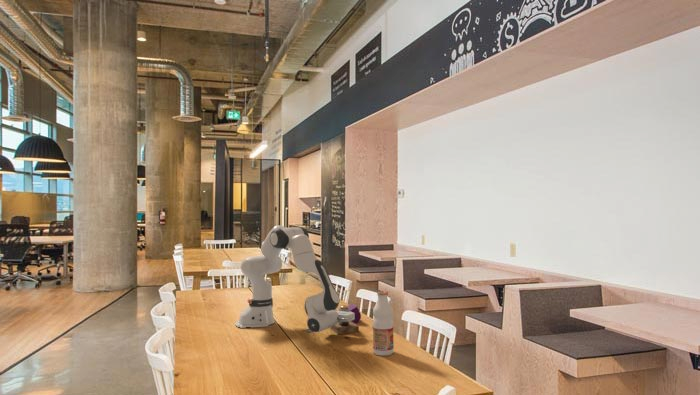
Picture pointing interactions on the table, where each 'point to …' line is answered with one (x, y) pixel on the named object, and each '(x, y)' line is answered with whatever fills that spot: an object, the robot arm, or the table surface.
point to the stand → (345, 328)
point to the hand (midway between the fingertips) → (343, 312)
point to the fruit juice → (383, 326)
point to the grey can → (346, 309)
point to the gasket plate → (307, 330)
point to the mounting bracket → (355, 311)
